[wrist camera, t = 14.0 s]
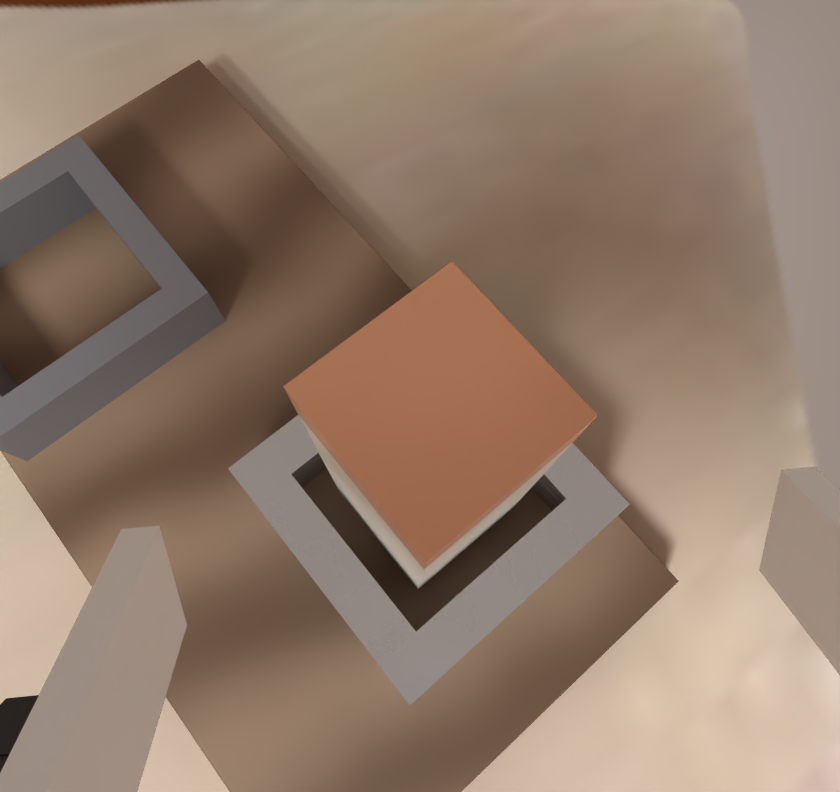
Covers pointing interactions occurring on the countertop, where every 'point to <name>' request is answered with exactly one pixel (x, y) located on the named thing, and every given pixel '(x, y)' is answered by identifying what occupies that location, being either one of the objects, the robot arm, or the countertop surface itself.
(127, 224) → the frame
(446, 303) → the plug
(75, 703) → the robot arm
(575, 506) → the port
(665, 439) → the countertop surface
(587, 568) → the walnut board
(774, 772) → the countertop surface
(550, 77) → the countertop surface
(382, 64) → the countertop surface
